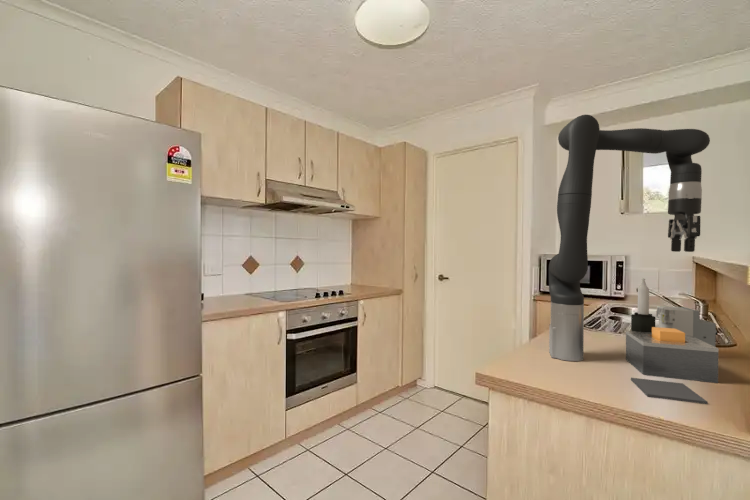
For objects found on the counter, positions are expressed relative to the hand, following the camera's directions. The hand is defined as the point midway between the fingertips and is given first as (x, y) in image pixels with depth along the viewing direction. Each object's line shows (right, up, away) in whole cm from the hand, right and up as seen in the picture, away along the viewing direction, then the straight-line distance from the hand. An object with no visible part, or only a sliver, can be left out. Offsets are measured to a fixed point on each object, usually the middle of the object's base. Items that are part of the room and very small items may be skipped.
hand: (682, 251), depth 104 cm
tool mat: (-23, -34, -21) cm, 46 cm away
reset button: (-10, -29, -7) cm, 32 cm away
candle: (-6, -34, +7) cm, 35 cm away
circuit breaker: (+9, -34, +8) cm, 36 cm away
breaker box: (-10, -34, -7) cm, 36 cm away
